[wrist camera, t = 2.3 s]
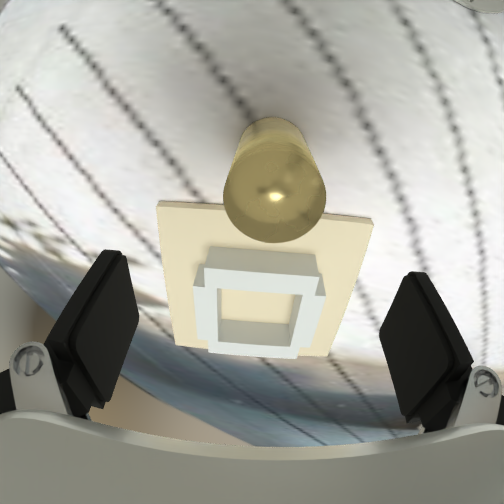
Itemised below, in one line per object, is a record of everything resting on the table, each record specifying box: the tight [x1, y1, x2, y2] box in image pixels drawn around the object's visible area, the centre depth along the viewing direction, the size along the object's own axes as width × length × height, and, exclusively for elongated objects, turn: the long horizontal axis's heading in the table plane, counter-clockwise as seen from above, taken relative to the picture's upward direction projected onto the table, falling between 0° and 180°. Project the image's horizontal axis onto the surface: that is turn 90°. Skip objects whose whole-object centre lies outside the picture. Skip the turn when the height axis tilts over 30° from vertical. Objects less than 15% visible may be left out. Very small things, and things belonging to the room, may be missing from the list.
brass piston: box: [223, 117, 326, 243], centre depth 18 cm, size 5×5×9 cm
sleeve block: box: [156, 201, 374, 359], centre depth 28 cm, size 18×18×4 cm
